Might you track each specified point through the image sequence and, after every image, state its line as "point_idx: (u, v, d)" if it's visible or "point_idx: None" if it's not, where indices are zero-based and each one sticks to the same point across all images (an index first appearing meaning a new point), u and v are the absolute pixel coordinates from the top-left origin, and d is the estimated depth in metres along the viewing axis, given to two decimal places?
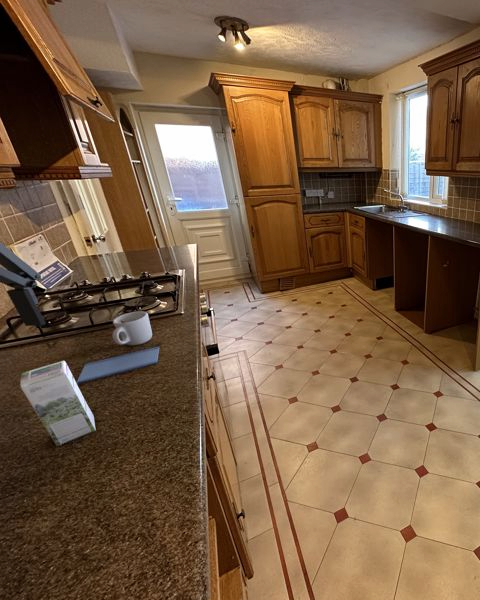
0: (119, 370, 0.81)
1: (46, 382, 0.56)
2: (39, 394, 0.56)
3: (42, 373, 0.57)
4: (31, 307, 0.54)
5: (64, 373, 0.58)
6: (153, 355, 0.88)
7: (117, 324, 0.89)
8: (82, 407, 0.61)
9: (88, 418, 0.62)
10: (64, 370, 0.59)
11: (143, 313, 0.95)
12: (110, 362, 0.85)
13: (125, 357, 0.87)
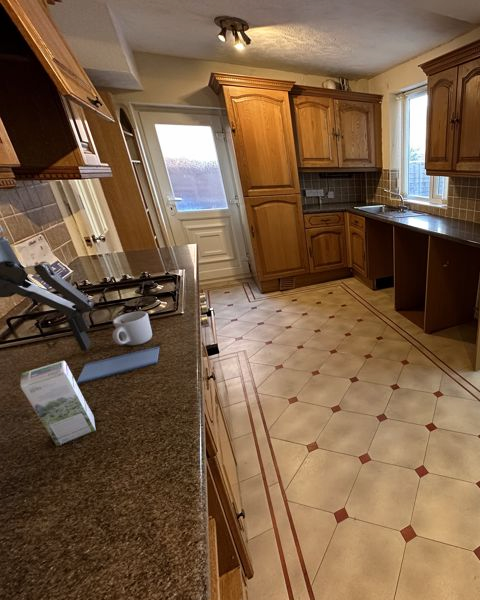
0: (119, 370, 0.81)
1: (46, 382, 0.56)
2: (39, 394, 0.56)
3: (42, 373, 0.57)
4: (74, 334, 0.57)
5: (64, 373, 0.58)
6: (153, 355, 0.88)
7: (117, 324, 0.89)
8: (82, 407, 0.61)
9: (88, 418, 0.62)
10: (64, 370, 0.59)
11: (143, 313, 0.95)
12: (110, 362, 0.85)
13: (125, 357, 0.87)
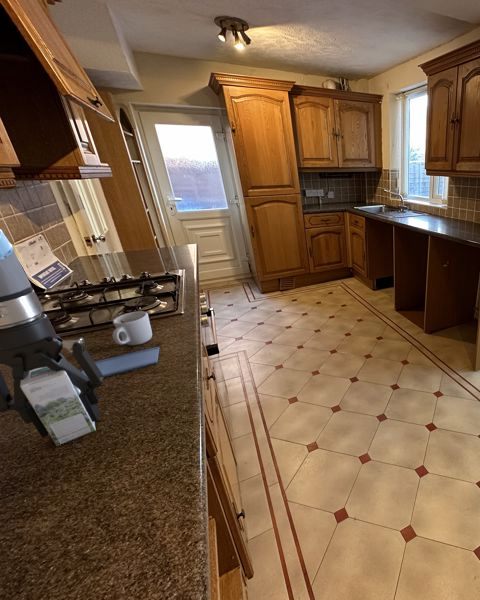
0: (119, 370, 0.81)
1: (45, 382, 0.56)
2: (39, 394, 0.56)
3: (42, 373, 0.57)
4: (85, 408, 0.62)
5: (64, 373, 0.58)
6: (153, 355, 0.88)
7: (117, 324, 0.89)
8: (82, 407, 0.61)
9: (88, 418, 0.62)
10: None
11: (143, 313, 0.95)
12: (110, 362, 0.85)
13: (125, 357, 0.87)
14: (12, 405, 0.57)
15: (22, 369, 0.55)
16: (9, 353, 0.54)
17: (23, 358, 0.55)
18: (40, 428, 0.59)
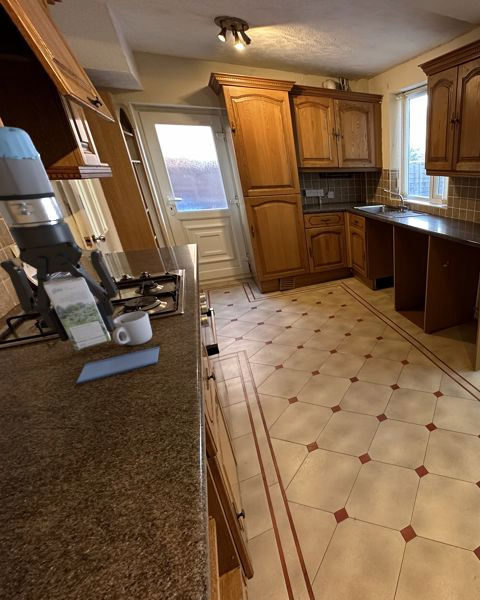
0: (119, 370, 0.81)
1: (66, 285, 0.61)
2: (60, 295, 0.61)
3: (63, 278, 0.62)
4: None
5: (83, 279, 0.62)
6: (153, 355, 0.88)
7: (117, 324, 0.89)
8: (99, 315, 0.66)
9: (104, 327, 0.67)
10: None
11: (143, 313, 0.95)
12: (110, 362, 0.85)
13: (125, 357, 0.87)
14: (35, 306, 0.61)
15: (45, 271, 0.60)
16: (34, 254, 0.59)
17: (46, 260, 0.59)
18: (60, 332, 0.64)
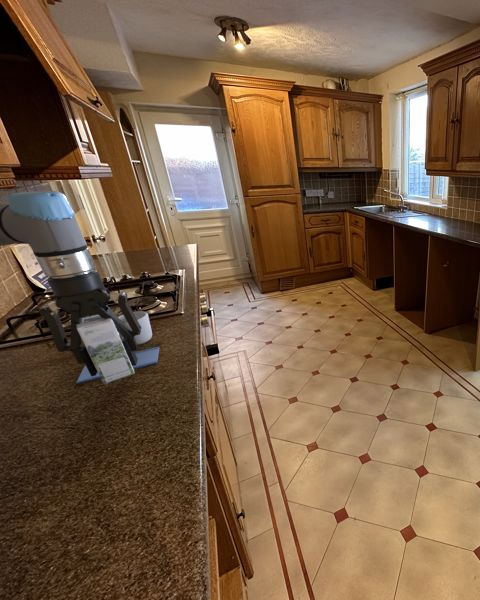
0: None
1: (97, 327, 0.67)
2: (91, 336, 0.67)
3: (93, 320, 0.68)
4: (127, 353, 0.73)
5: (111, 320, 0.69)
6: (153, 355, 0.88)
7: None
8: (124, 352, 0.72)
9: (129, 362, 0.73)
10: None
11: (143, 313, 0.95)
12: None
13: None
14: (68, 346, 0.67)
15: (78, 315, 0.66)
16: (68, 300, 0.65)
17: (79, 305, 0.66)
18: (90, 368, 0.70)
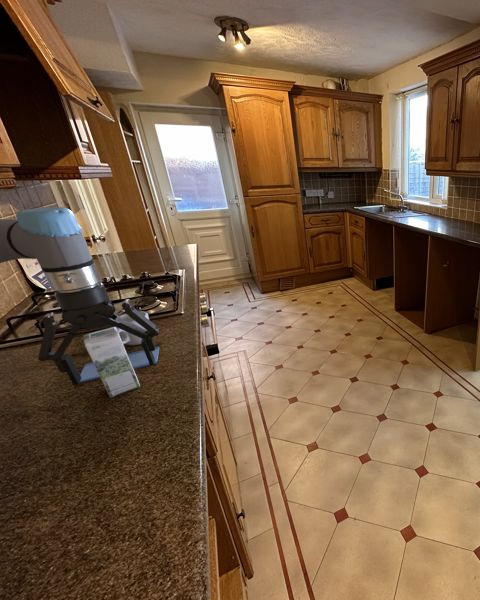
0: None
1: (103, 342, 0.69)
2: (98, 351, 0.68)
3: (100, 335, 0.70)
4: (145, 353, 0.75)
5: (117, 335, 0.70)
6: (153, 355, 0.88)
7: None
8: (130, 365, 0.73)
9: (134, 375, 0.75)
10: (117, 333, 0.71)
11: (143, 313, 0.95)
12: None
13: None
14: (50, 355, 0.66)
15: (79, 327, 0.67)
16: (76, 315, 0.66)
17: (85, 318, 0.67)
18: (72, 377, 0.69)
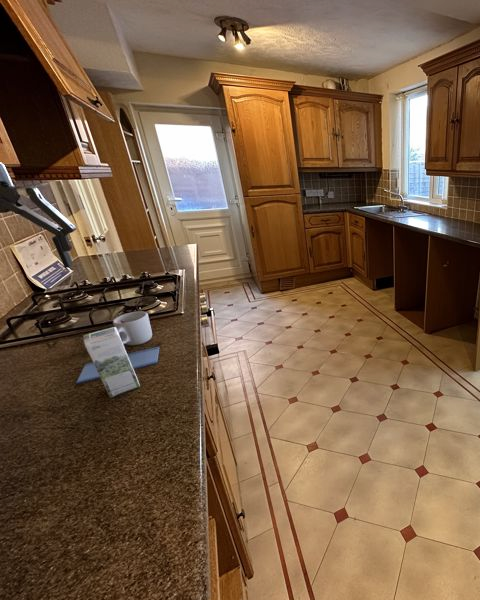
0: None
1: (103, 342, 0.69)
2: (98, 351, 0.68)
3: (100, 335, 0.70)
4: (58, 252, 0.68)
5: (117, 335, 0.70)
6: (153, 355, 0.88)
7: (117, 324, 0.89)
8: (130, 365, 0.73)
9: (134, 375, 0.75)
10: (117, 333, 0.71)
11: (143, 313, 0.95)
12: None
13: None
14: None
15: None
16: None
17: None
18: None
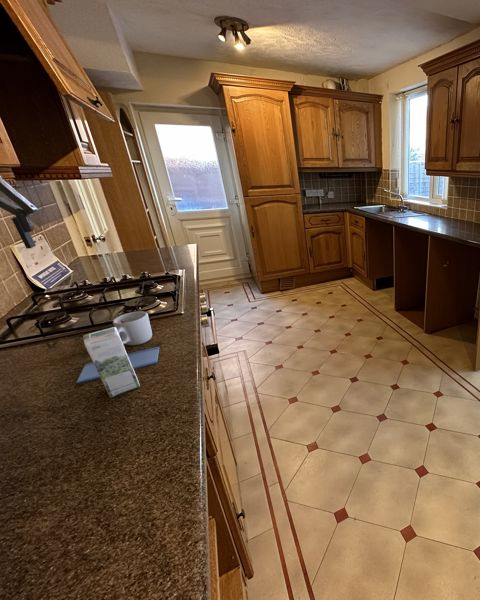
0: None
1: (103, 342, 0.69)
2: (98, 351, 0.68)
3: (100, 335, 0.70)
4: (19, 232, 0.69)
5: (117, 335, 0.70)
6: (153, 355, 0.88)
7: (117, 324, 0.89)
8: (130, 365, 0.73)
9: (134, 375, 0.75)
10: (117, 333, 0.71)
11: (143, 313, 0.95)
12: None
13: None
14: None
15: None
16: None
17: None
18: None
